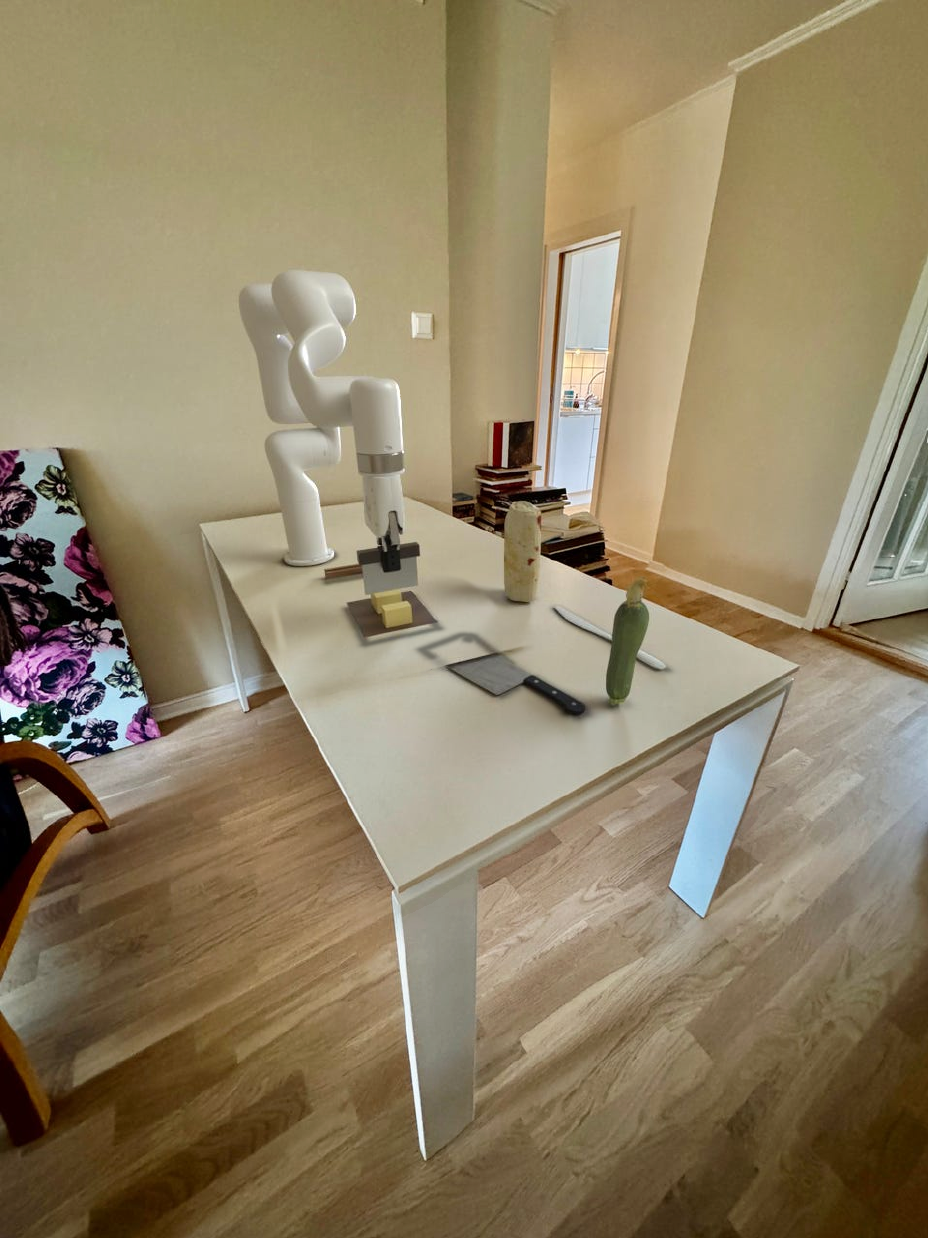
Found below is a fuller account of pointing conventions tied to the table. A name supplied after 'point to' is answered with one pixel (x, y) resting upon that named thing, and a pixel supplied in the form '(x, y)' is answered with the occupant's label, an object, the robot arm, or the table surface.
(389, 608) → the butter pat
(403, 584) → the cutter
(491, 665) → the cleaver
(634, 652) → the vegetable
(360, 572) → the holder
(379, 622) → the board
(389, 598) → the butter stick
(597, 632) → the butter knife
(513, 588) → the food model
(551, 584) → the table surface
